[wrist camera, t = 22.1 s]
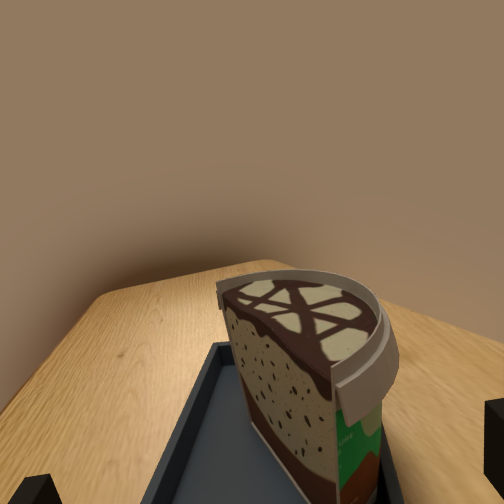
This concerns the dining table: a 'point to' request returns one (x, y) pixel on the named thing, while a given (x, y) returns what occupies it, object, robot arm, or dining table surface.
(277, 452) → the food container
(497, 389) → the dining table surface
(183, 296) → the dining table surface
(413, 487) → the dining table surface
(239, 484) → the tray
